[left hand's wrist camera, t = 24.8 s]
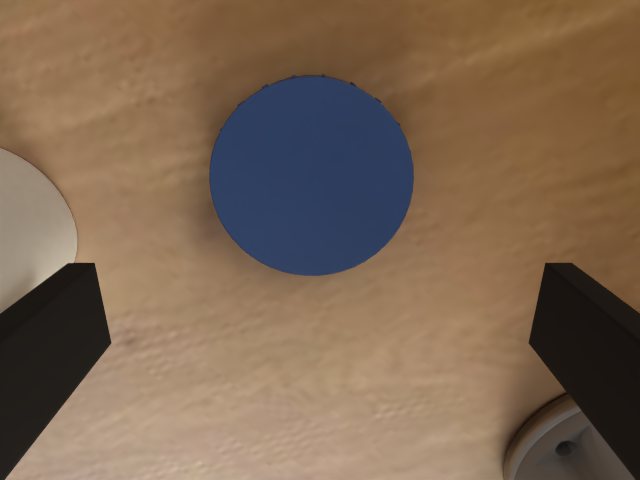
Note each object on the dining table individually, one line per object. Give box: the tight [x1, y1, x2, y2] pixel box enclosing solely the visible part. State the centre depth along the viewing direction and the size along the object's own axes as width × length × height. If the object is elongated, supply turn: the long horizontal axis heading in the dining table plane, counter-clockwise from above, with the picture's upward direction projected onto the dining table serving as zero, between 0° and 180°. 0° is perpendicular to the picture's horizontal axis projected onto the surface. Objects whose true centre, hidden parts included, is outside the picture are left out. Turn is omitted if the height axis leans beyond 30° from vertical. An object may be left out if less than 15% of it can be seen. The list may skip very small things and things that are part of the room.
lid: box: [210, 74, 414, 276], centre depth 22 cm, size 10×10×2 cm
